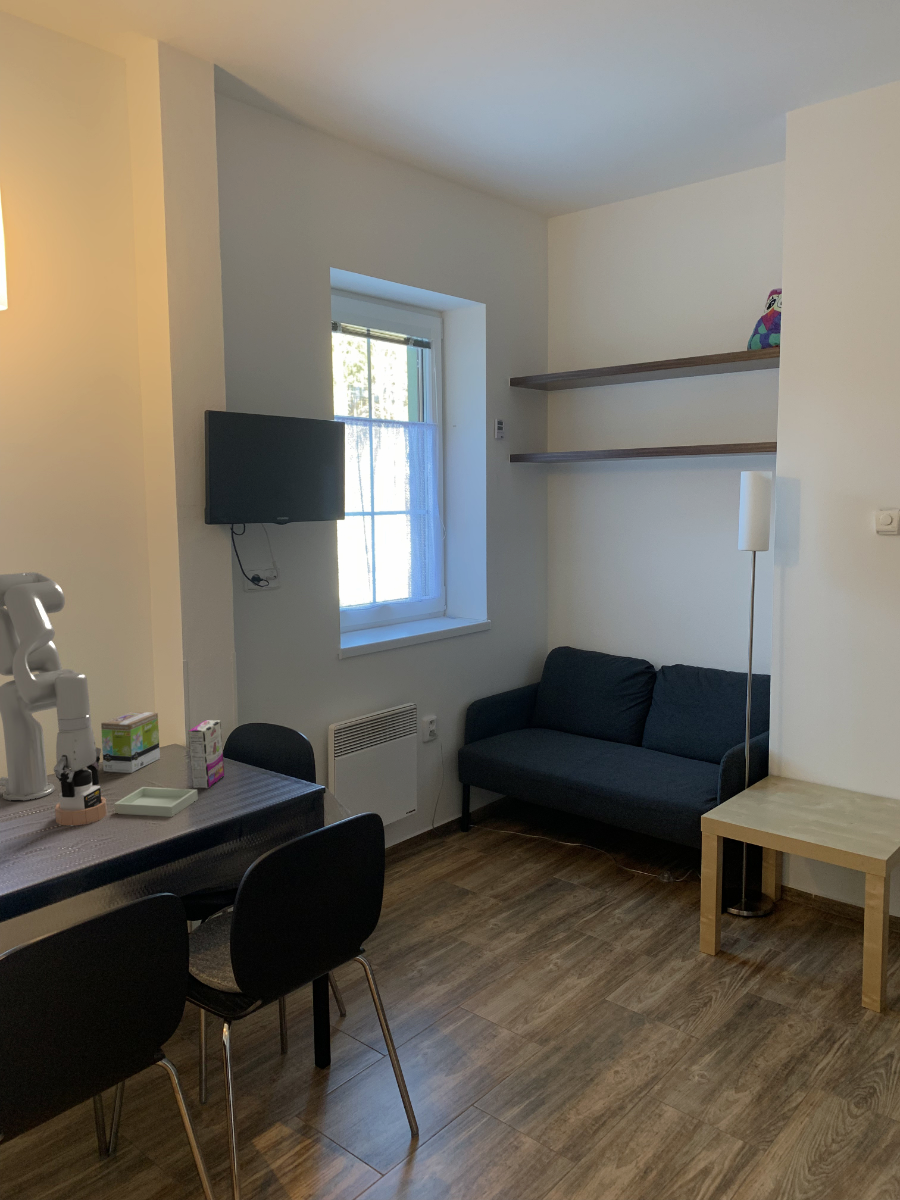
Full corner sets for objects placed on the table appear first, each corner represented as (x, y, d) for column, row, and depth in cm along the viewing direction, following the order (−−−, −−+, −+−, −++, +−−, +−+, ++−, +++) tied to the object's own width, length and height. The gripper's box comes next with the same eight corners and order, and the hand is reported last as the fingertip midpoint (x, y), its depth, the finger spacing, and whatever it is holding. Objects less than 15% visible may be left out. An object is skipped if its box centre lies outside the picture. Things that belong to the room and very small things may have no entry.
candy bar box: (208, 775, 258) (204, 719, 256) (225, 776, 257) (221, 719, 255) (191, 788, 247) (187, 730, 245) (208, 789, 246) (204, 730, 244)
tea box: (133, 773, 262) (129, 723, 260) (102, 772, 264) (99, 722, 262) (161, 758, 276) (158, 711, 275) (132, 757, 279) (128, 710, 277)
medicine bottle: (86, 822, 223) (82, 775, 221) (60, 821, 224) (56, 774, 223) (102, 812, 230) (99, 766, 228) (77, 811, 231) (74, 765, 230)
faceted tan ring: (46, 824, 223) (45, 810, 222) (75, 807, 234) (74, 794, 233) (88, 826, 220) (87, 812, 220) (115, 810, 231) (114, 796, 231)
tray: (114, 813, 229) (114, 803, 228) (143, 796, 241) (142, 786, 241) (172, 816, 225) (171, 806, 225) (197, 799, 238) (197, 789, 237)
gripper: (82, 715, 233) (88, 779, 235) (38, 732, 216) (45, 801, 218) (108, 715, 231) (114, 780, 233) (65, 732, 215) (72, 802, 216)
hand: (81, 790), depth 226 cm, fingers open, 9 cm apart
